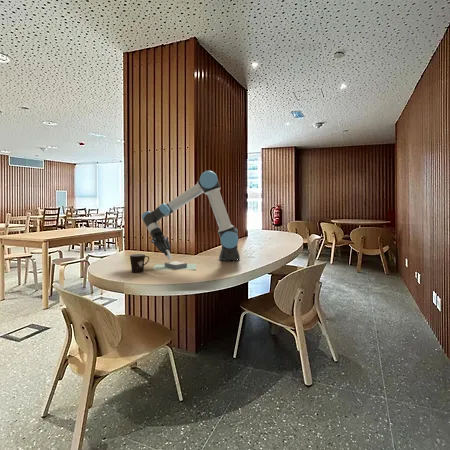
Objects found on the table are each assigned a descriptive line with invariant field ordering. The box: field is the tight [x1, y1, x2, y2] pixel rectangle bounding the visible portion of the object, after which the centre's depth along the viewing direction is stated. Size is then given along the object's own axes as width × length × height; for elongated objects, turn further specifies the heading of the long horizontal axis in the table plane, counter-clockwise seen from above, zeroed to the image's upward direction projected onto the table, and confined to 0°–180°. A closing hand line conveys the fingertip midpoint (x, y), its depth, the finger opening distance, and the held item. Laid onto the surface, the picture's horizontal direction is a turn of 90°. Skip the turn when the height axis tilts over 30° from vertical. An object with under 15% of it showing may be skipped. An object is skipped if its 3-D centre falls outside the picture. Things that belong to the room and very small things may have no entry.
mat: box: [152, 263, 197, 271], centre depth 197 cm, size 26×18×1 cm
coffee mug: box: [129, 253, 150, 274], centre depth 184 cm, size 12×9×10 cm
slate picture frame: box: [164, 260, 188, 269], centre depth 195 cm, size 3×9×11 cm
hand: (170, 258), depth 198 cm, fingers closed
